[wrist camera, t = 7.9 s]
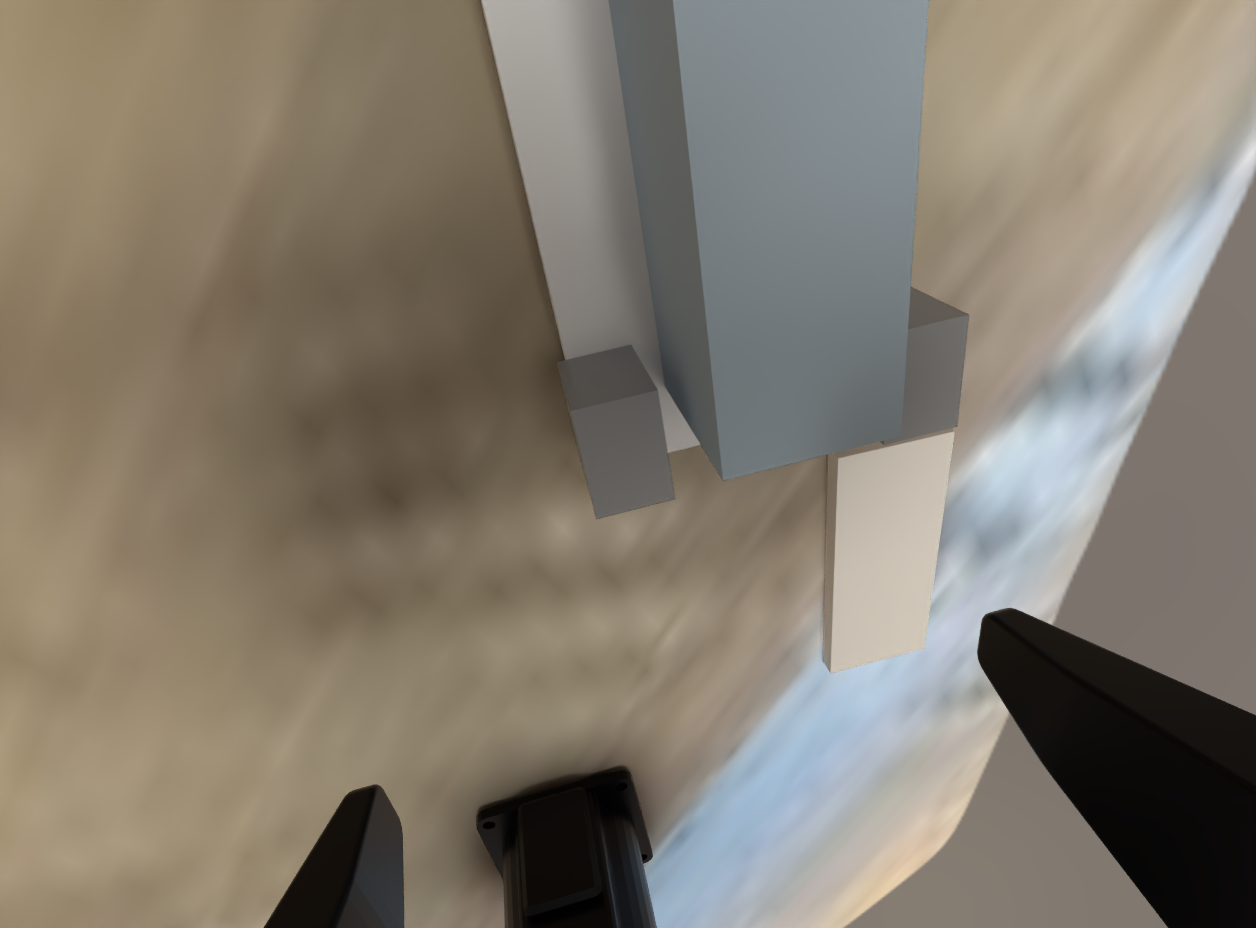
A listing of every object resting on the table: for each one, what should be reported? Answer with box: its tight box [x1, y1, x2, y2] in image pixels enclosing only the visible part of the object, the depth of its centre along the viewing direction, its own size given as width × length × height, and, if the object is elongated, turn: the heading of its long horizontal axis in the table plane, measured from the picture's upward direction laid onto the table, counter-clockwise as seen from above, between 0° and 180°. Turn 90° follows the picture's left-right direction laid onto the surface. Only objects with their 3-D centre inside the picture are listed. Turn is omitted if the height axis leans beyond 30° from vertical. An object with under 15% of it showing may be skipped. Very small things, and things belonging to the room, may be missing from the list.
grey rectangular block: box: [609, 0, 929, 481], centre depth 13 cm, size 12×4×5 cm, turn 9°
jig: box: [480, 0, 969, 519], centre depth 14 cm, size 16×10×4 cm, turn 10°
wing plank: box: [823, 428, 955, 673], centre depth 24 cm, size 10×4×1 cm, turn 8°
